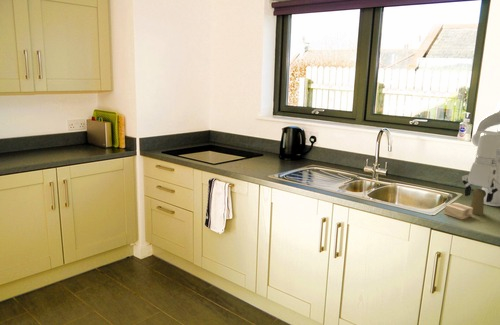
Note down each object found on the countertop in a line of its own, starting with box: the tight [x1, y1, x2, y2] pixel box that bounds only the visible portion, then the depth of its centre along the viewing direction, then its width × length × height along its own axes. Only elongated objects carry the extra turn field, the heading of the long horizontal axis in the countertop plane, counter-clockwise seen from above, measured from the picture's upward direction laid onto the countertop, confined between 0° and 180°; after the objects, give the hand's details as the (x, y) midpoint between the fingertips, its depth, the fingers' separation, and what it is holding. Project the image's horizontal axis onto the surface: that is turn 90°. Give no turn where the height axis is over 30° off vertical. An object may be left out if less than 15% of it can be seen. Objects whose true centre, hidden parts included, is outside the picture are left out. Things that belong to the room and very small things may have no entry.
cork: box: [469, 188, 486, 216], centre depth 190 cm, size 6×6×11 cm
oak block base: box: [443, 202, 473, 220], centre depth 186 cm, size 8×8×4 cm
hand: (477, 198), depth 189 cm, fingers open, 9 cm apart
